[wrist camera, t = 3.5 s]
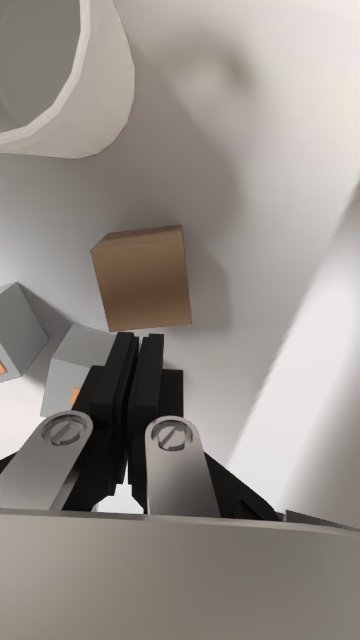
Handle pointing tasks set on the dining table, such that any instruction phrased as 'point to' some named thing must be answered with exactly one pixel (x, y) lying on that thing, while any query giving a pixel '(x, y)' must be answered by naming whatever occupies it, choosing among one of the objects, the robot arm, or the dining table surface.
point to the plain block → (143, 278)
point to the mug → (63, 77)
